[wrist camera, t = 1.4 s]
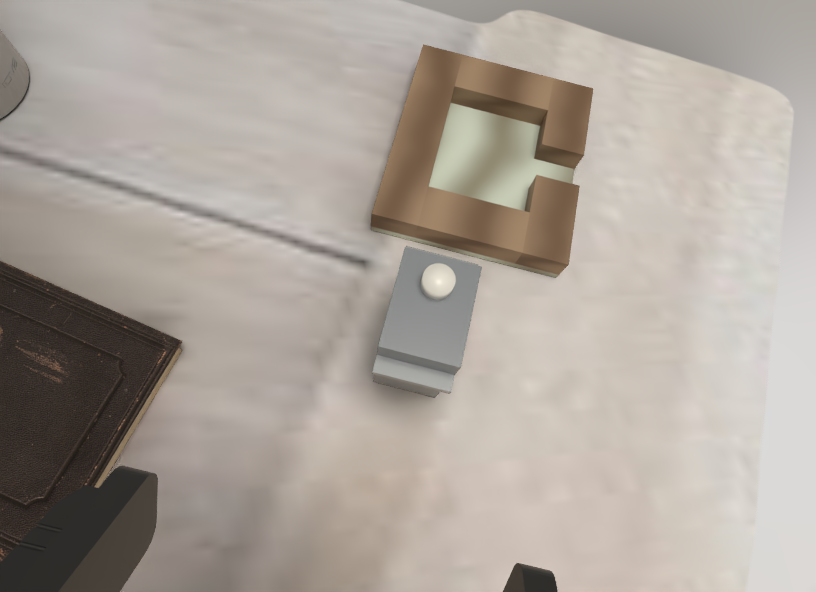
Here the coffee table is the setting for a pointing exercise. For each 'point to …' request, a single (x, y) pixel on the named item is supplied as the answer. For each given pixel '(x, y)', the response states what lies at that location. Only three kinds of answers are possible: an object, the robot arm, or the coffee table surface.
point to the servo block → (426, 323)
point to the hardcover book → (66, 394)
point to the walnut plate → (486, 162)
